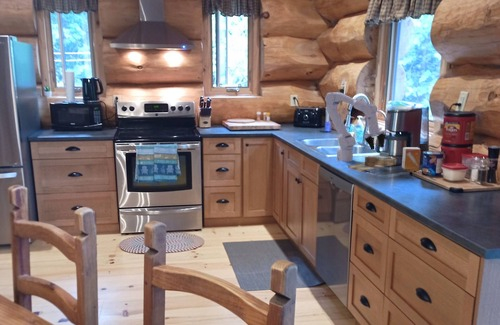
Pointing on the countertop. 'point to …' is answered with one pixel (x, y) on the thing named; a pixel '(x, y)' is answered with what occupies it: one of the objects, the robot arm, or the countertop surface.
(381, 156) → the lid
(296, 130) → the countertop surface
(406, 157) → the small box
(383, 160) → the puzzle board
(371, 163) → the walnut block
